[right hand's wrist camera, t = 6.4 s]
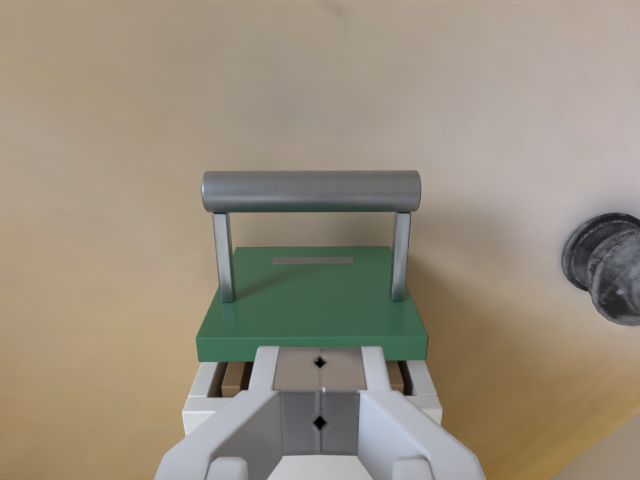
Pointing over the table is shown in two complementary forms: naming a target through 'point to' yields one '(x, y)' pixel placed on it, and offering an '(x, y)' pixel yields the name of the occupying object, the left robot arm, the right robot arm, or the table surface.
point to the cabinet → (307, 470)
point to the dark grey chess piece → (607, 265)
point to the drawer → (310, 272)
